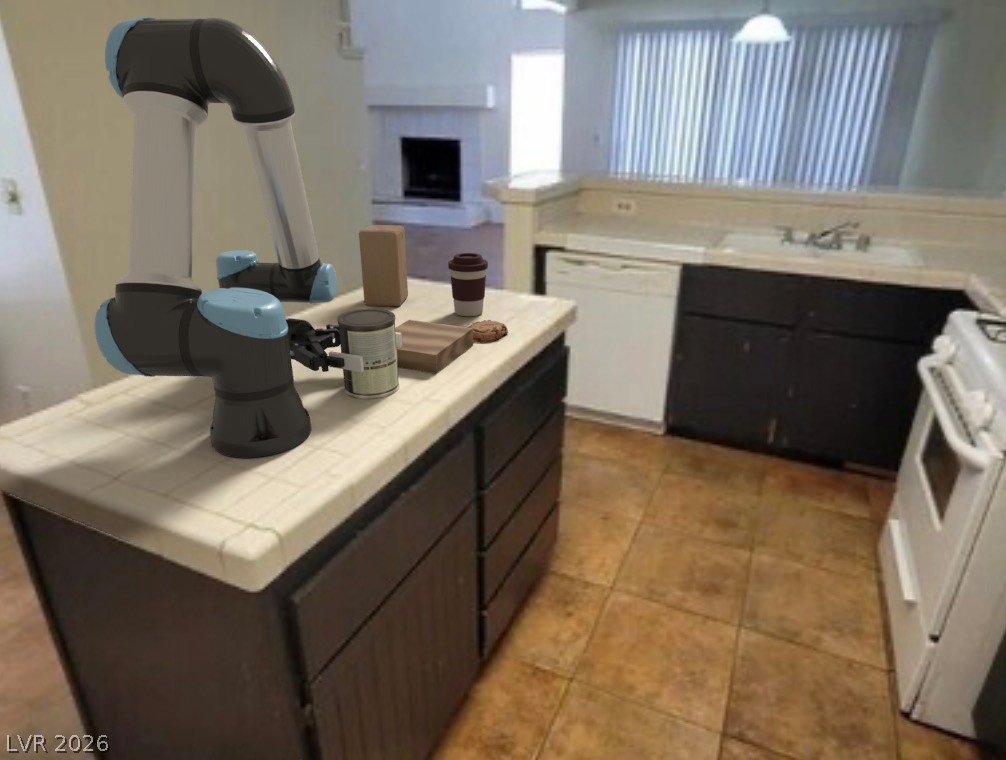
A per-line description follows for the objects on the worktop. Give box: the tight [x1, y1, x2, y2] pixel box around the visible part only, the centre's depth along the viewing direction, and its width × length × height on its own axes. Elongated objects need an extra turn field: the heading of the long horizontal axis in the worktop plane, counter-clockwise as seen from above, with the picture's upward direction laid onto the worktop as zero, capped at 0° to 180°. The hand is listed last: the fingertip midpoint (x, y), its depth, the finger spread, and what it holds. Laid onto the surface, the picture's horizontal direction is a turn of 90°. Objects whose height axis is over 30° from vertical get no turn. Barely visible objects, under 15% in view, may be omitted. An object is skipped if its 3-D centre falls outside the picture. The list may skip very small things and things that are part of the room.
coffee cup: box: [447, 252, 489, 318], centre depth 163 cm, size 10×10×15 cm
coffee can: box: [336, 308, 400, 400], centre depth 118 cm, size 10×10×14 cm
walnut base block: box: [395, 319, 474, 374], centre depth 138 cm, size 18×16×4 cm
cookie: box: [467, 319, 509, 343], centre depth 150 cm, size 10×11×3 cm
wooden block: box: [358, 224, 409, 307], centre depth 171 cm, size 10×10×20 cm
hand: (382, 351), depth 117 cm, fingers open, 13 cm apart
